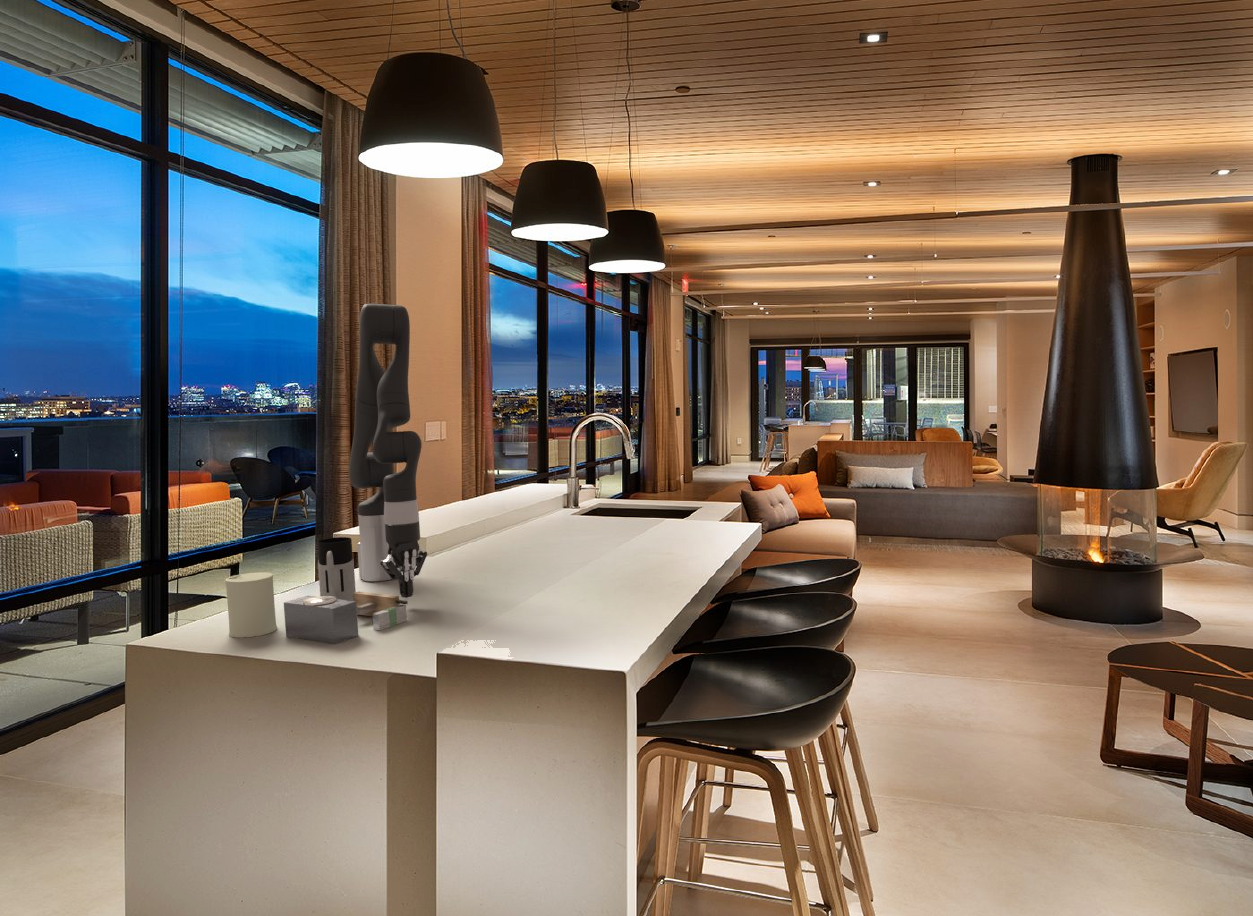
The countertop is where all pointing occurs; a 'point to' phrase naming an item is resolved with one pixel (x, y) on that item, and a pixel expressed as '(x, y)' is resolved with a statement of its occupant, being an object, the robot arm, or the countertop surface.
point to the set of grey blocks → (332, 618)
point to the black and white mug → (336, 568)
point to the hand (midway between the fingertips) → (406, 596)
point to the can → (251, 604)
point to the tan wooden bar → (374, 602)
